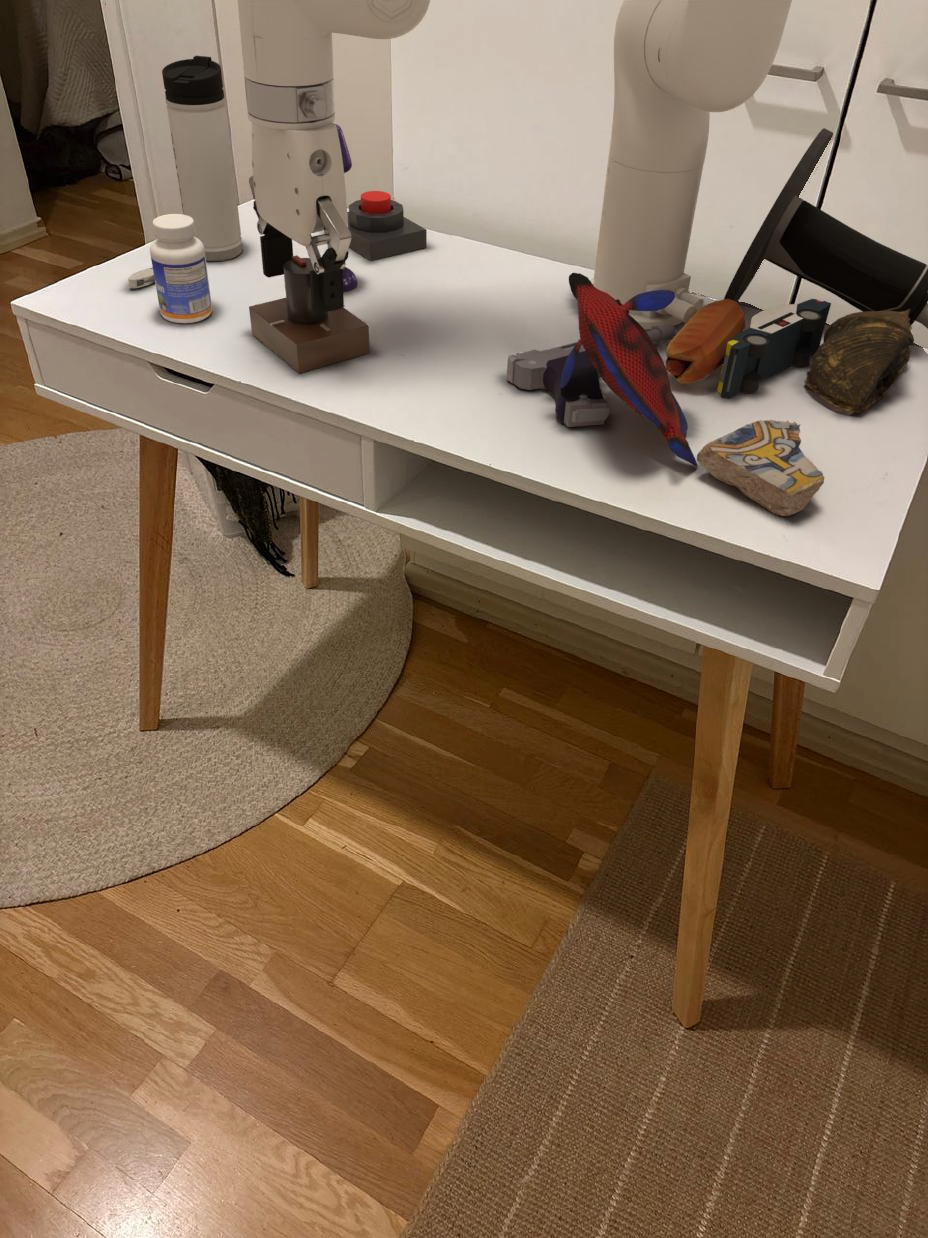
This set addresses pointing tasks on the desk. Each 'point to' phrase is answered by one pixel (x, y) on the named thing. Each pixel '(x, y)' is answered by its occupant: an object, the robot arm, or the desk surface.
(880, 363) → the seashell
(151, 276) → the oval pebble
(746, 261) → the black flanged spool
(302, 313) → the dimmer knob
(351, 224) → the switch block
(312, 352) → the dimmer panel
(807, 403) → the desk surface
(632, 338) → the fish
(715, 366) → the hot dog
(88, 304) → the desk surface
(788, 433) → the ceramic tile fragment
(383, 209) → the button
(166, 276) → the pill bottle
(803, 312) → the toy car
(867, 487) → the desk surface
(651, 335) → the handgun
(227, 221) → the travel mug
